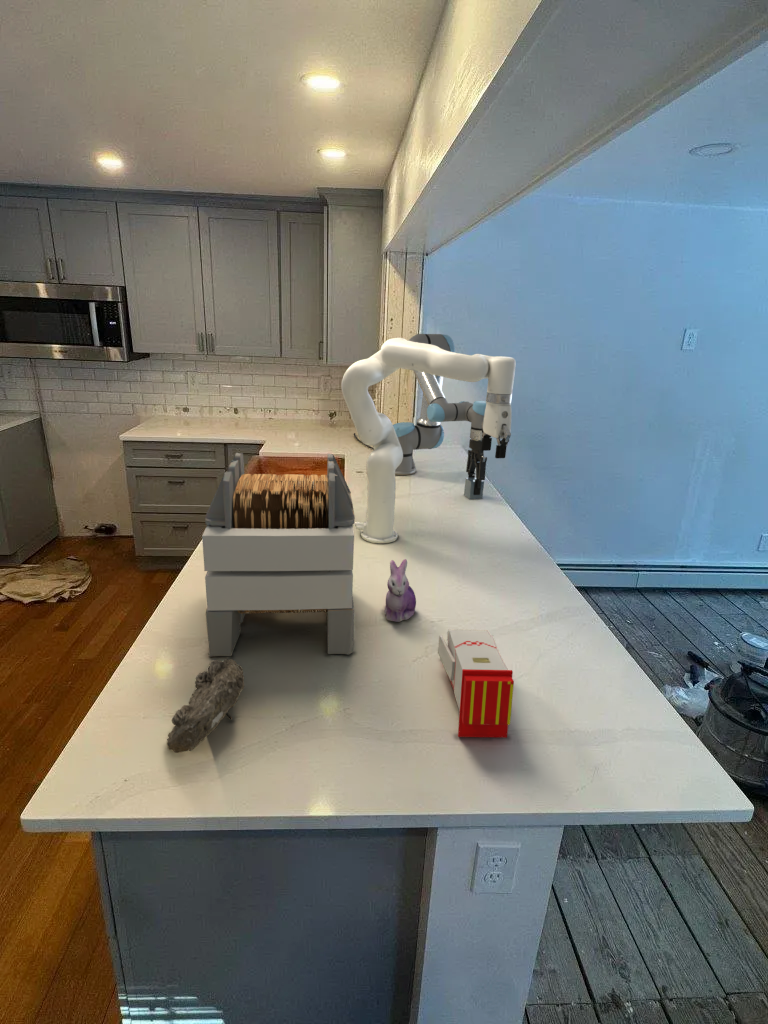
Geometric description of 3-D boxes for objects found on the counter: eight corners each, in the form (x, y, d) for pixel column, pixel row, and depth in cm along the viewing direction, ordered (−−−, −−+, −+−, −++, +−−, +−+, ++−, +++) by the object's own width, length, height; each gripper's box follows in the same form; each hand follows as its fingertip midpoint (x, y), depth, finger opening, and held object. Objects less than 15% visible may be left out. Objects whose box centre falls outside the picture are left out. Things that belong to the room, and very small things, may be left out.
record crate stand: (228, 587, 157) (220, 443, 143) (347, 586, 161) (350, 445, 147) (206, 659, 125) (193, 482, 111) (354, 655, 129) (359, 484, 115)
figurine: (392, 627, 141) (395, 572, 136) (374, 608, 149) (376, 556, 144) (425, 619, 145) (429, 566, 140) (405, 601, 154) (408, 550, 149)
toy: (488, 613, 130) (523, 677, 101) (484, 667, 133) (517, 744, 104) (435, 612, 130) (455, 676, 101) (432, 666, 133) (451, 743, 103)
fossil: (192, 660, 117) (244, 628, 112) (224, 691, 120) (276, 661, 115) (142, 746, 98) (202, 712, 93) (182, 779, 101) (242, 748, 96)
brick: (482, 498, 242) (484, 481, 239) (469, 499, 240) (471, 481, 238) (476, 494, 247) (478, 477, 244) (463, 495, 245) (465, 477, 243)
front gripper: (524, 403, 164) (517, 460, 170) (496, 394, 180) (491, 447, 186) (501, 403, 162) (494, 461, 168) (475, 394, 178) (470, 447, 184)
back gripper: (497, 444, 228) (491, 498, 236) (477, 434, 245) (472, 485, 252) (480, 444, 226) (474, 499, 233) (461, 434, 242) (456, 486, 250)
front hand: (492, 454), depth 177 cm, fingers open, 9 cm apart
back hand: (473, 492), depth 243 cm, fingers closed on brick, 6 cm apart
